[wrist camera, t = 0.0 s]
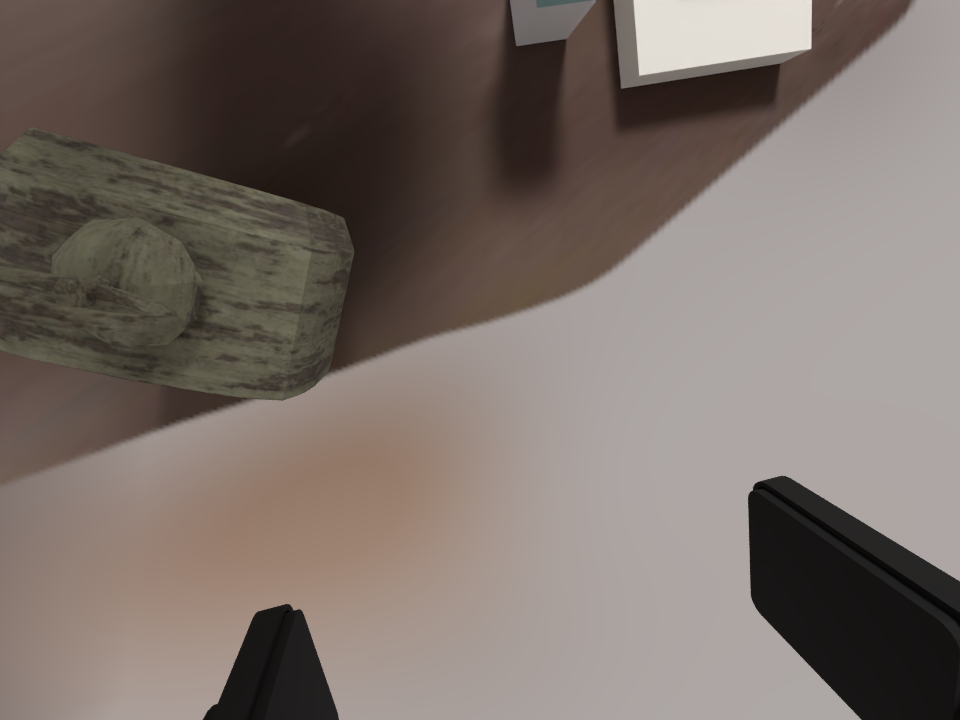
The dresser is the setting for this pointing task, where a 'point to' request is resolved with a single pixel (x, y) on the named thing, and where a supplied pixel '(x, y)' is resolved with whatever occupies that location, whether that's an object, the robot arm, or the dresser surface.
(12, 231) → the tabletop clock
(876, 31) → the dresser surface
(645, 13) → the socket
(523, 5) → the plug
